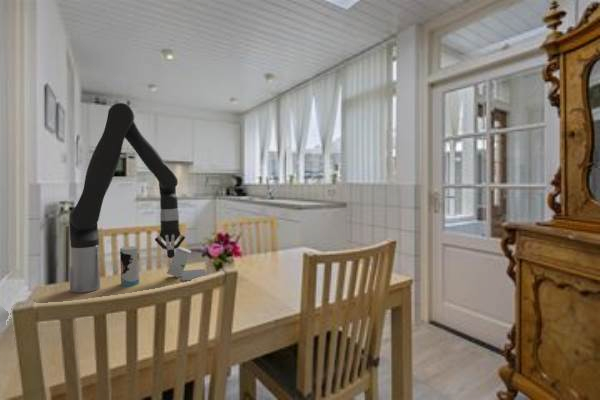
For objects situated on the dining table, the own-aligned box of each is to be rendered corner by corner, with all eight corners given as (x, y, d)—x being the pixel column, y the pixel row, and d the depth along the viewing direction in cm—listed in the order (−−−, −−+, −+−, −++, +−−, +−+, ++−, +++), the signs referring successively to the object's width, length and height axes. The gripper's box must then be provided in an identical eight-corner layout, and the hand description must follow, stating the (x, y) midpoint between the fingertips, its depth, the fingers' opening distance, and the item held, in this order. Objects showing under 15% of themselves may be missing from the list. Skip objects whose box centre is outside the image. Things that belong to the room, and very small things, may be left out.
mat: (181, 281, 140) (181, 280, 140) (182, 271, 156) (182, 270, 156) (210, 279, 144) (210, 278, 144) (208, 269, 159) (208, 268, 159)
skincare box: (166, 273, 144) (176, 247, 144) (168, 271, 149) (178, 246, 149) (180, 278, 145) (190, 252, 145) (182, 275, 150) (191, 250, 150)
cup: (134, 280, 142) (134, 245, 141) (142, 283, 138) (141, 247, 137) (118, 283, 137) (117, 248, 136) (125, 287, 132) (124, 250, 132)
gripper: (152, 220, 139) (153, 261, 141) (185, 219, 143) (186, 258, 145) (154, 218, 147) (155, 257, 148) (185, 217, 151) (186, 254, 152)
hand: (171, 257), depth 146 cm, fingers closed
